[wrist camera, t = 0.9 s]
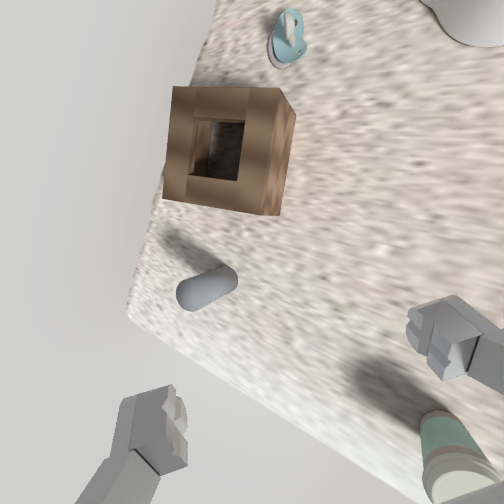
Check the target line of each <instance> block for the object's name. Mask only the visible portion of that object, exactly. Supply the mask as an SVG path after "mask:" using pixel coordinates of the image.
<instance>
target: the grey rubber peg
mask: <svg viewBox="0 0 504 504" xmlns="http://www.w3.org/2000/svg"><path fill="white" fill-rule="evenodd" d="M237 284H238V277H237V274H236V272H235V271H234V270H233V269H232V268H230V267H220V268H218V269H215V270H212V271H209V272H206V273H203V274H200V275H197V276H194V277H191V278H189V279H186V280H183V281H181V282H180V283H179V285H178V286H177V289H176V298H177V301H178V303H179V305H180V306H181V307H182V308H183V309H185V310H186V311H190V312H194V311H197V310H199V309H201V308H203V307H204V306H206V305H208V304H210V303H211V302H213V301H215V300H217V299H219V298H220V297H222V296H224V295H226V294H228V293H229V292H231V291H233V290H234V289H235V288H236V287H237Z"/></svg>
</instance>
